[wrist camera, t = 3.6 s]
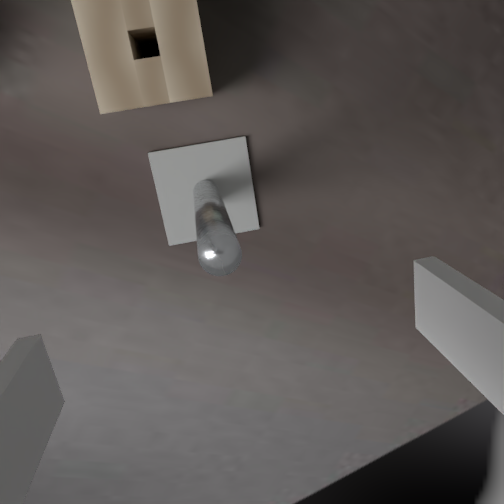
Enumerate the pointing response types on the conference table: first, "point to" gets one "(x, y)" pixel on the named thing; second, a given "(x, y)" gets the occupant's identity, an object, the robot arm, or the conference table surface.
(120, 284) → the conference table surface
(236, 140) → the mat
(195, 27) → the maple block
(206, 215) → the steel pin
